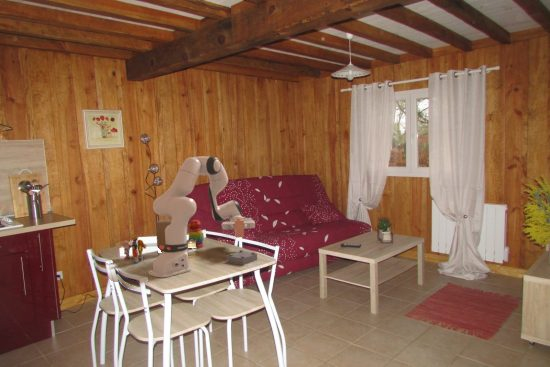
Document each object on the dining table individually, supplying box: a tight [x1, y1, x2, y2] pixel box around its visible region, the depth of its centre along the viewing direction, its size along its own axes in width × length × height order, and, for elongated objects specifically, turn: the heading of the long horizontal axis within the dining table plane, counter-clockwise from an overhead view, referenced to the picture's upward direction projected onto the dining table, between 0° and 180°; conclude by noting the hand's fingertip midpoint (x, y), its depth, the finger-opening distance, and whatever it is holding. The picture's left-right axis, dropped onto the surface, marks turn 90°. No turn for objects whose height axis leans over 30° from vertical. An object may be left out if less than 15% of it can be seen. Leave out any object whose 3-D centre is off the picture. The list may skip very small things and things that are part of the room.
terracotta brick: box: [234, 218, 245, 238], centre depth 235 cm, size 5×5×11 cm
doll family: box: [121, 236, 147, 265], centre depth 230 cm, size 21×10×13 cm, turn 42°
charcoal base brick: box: [226, 249, 258, 266], centre depth 222 cm, size 12×12×5 cm
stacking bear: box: [188, 219, 204, 249], centre depth 256 cm, size 11×10×18 cm
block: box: [155, 218, 172, 252], centre depth 245 cm, size 10×10×20 cm
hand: (239, 227), depth 234 cm, fingers closed on terracotta brick, 5 cm apart
